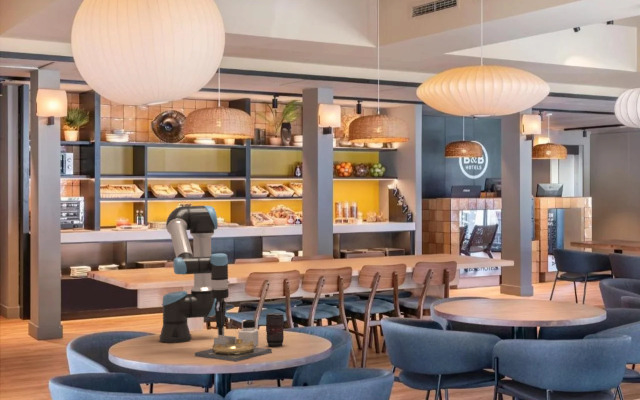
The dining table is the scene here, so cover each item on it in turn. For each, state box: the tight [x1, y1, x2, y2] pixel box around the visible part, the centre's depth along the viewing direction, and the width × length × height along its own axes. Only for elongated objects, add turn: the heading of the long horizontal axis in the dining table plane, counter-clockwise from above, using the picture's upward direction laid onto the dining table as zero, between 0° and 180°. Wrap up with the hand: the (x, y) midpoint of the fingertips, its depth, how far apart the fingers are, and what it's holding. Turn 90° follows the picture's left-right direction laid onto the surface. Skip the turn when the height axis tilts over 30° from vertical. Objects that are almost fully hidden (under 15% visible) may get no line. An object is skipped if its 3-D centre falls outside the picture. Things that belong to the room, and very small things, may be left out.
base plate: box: [194, 346, 273, 362], centre depth 405 cm, size 24×24×2 cm
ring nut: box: [212, 335, 254, 354], centre depth 405 cm, size 18×18×5 cm
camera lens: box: [265, 312, 285, 348], centre depth 424 cm, size 8×8×15 cm
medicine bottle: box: [238, 319, 259, 347], centre depth 426 cm, size 7×7×12 cm
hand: (221, 341), depth 407 cm, fingers closed
